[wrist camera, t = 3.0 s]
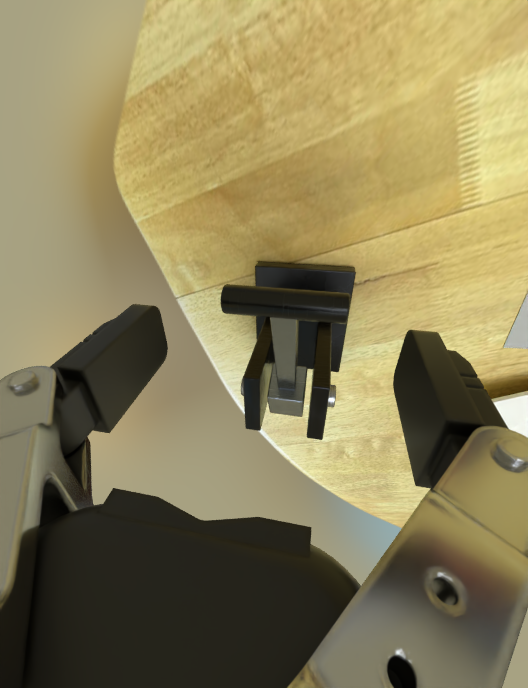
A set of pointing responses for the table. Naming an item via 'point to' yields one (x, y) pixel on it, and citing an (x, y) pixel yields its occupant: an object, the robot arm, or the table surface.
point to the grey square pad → (519, 329)
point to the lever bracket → (313, 342)
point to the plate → (514, 411)
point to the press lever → (286, 332)
